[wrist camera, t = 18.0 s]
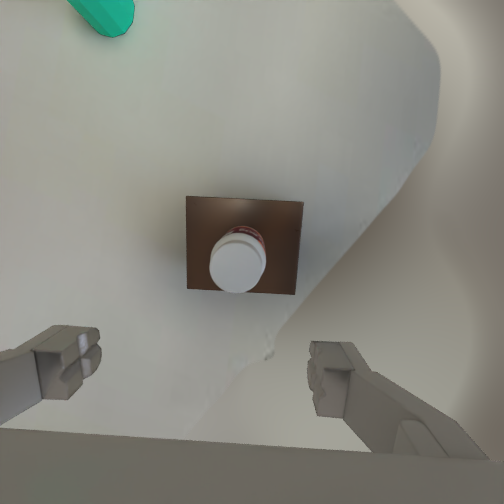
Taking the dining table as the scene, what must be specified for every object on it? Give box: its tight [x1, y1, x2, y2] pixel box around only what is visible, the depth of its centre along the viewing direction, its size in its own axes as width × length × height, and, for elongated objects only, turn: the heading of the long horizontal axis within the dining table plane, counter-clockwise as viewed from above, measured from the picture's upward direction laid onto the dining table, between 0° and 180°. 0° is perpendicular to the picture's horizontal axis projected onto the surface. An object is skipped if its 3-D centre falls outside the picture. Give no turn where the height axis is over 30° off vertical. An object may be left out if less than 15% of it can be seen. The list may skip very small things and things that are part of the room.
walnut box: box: [186, 196, 304, 295], centre depth 29 cm, size 12×10×7 cm
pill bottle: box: [209, 226, 266, 293], centre depth 22 cm, size 5×5×8 cm
